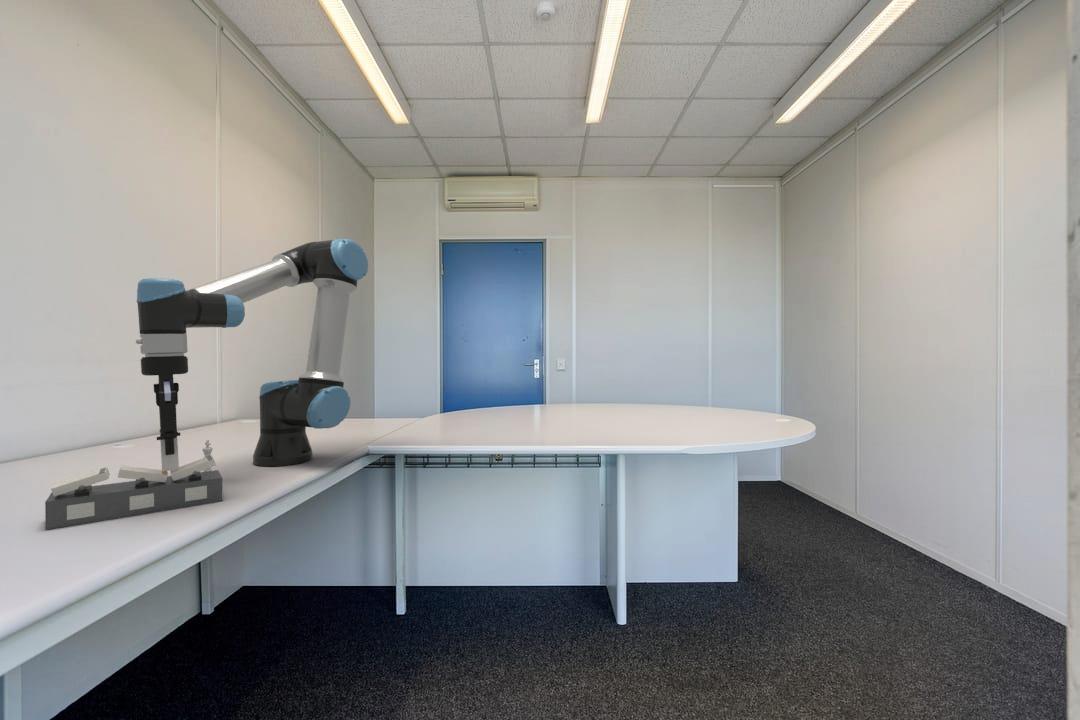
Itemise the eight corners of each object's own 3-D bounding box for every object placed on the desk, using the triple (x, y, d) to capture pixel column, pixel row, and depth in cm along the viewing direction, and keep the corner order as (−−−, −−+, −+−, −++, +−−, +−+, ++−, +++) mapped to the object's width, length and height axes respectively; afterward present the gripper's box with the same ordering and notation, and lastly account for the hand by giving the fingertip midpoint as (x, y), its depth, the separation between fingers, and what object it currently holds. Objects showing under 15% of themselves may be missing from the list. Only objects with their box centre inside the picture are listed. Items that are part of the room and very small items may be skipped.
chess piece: (201, 485, 111) (201, 443, 111) (191, 482, 113) (190, 441, 113) (224, 480, 115) (223, 439, 115) (213, 477, 118) (213, 437, 118)
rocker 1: (110, 476, 93) (106, 467, 93) (109, 481, 90) (105, 471, 89) (58, 493, 88) (54, 483, 88) (54, 498, 85) (50, 488, 85)
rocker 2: (163, 479, 98) (167, 470, 99) (164, 484, 95) (168, 474, 95) (117, 475, 94) (121, 464, 94) (116, 479, 90) (120, 469, 91)
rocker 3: (214, 463, 104) (211, 455, 103) (216, 467, 100) (213, 458, 100) (173, 478, 99) (169, 470, 99) (174, 483, 96) (170, 474, 95)
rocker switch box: (218, 492, 106) (218, 467, 106) (222, 501, 99) (222, 474, 99) (52, 517, 89) (52, 488, 89) (45, 530, 83) (45, 498, 83)
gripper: (140, 355, 99) (146, 466, 100) (140, 356, 89) (146, 480, 90) (185, 354, 104) (190, 460, 104) (189, 355, 94) (195, 472, 94)
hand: (170, 469), depth 97 cm, fingers closed
